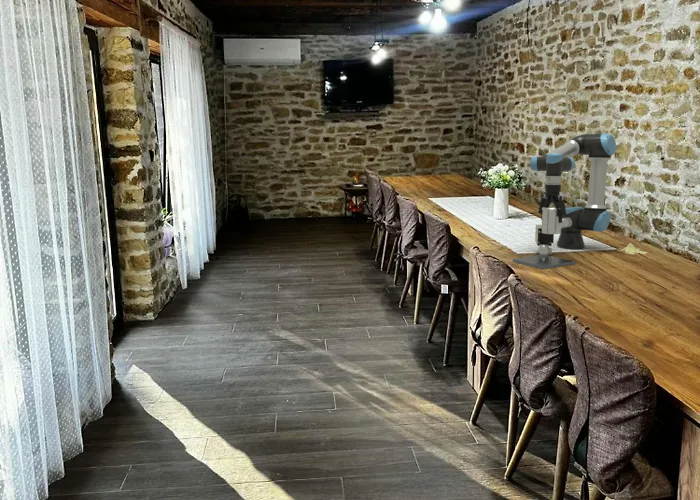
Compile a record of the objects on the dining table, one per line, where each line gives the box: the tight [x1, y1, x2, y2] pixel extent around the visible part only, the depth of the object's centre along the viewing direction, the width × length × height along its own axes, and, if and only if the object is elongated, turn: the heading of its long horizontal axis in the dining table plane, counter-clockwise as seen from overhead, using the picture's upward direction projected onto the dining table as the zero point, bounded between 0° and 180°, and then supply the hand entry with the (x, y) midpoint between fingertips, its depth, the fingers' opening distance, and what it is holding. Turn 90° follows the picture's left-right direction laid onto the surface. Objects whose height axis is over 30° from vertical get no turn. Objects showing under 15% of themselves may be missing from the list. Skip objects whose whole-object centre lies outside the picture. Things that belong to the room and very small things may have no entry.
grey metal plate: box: [512, 244, 576, 270], centre depth 315 cm, size 22×22×10 cm
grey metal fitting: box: [541, 206, 572, 235], centre depth 314 cm, size 17×10×13 cm, turn 118°
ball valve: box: [534, 224, 555, 256], centre depth 333 cm, size 18×8×18 cm, turn 168°
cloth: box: [617, 242, 648, 255], centre depth 343 cm, size 22×19×6 cm
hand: (551, 227), depth 313 cm, fingers closed on grey metal fitting, 9 cm apart
